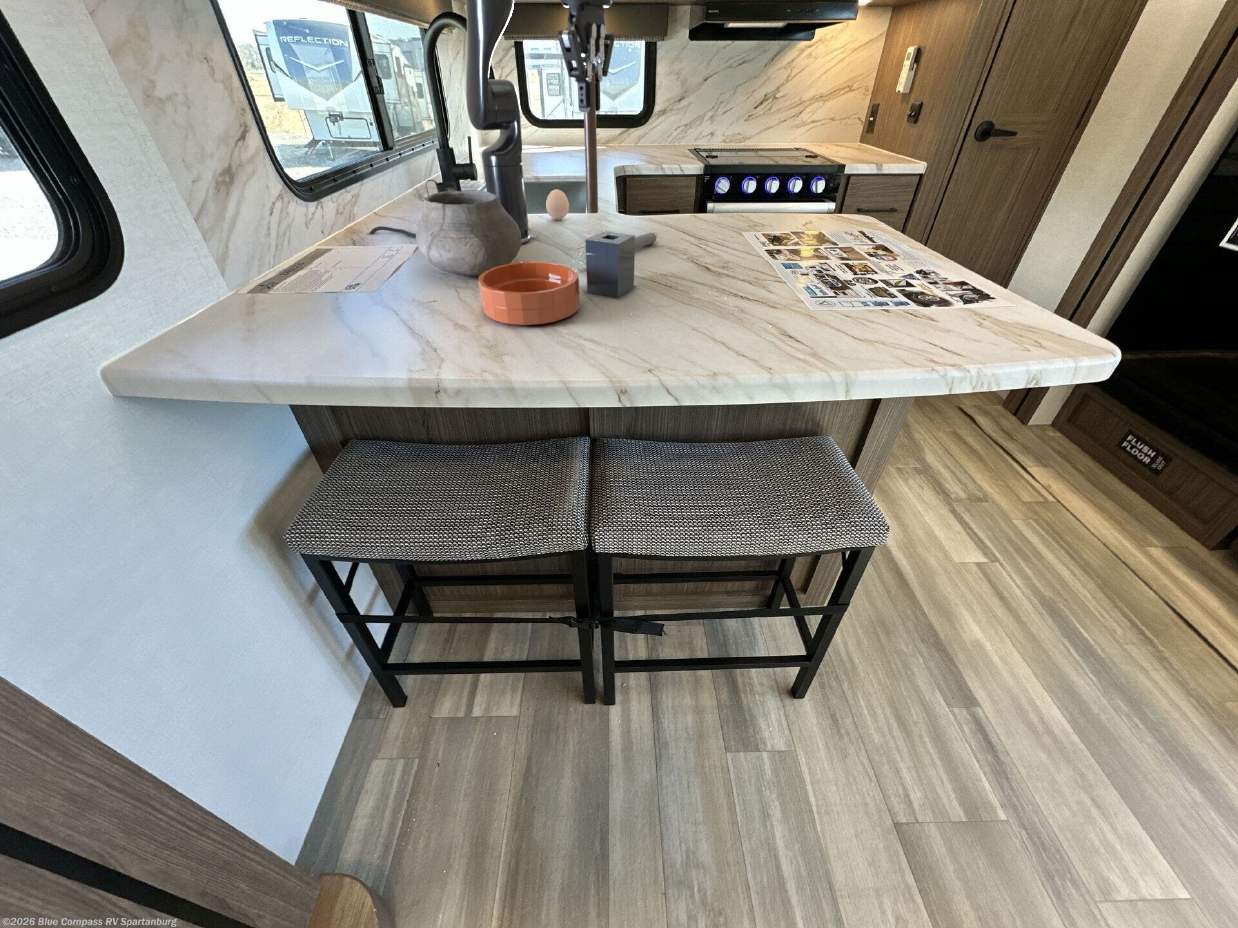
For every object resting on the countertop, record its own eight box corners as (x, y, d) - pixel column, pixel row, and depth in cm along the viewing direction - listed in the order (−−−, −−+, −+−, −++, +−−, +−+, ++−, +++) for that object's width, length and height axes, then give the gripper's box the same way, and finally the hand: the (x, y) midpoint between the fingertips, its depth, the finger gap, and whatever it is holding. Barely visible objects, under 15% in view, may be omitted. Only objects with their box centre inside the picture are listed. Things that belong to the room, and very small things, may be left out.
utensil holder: (587, 292, 101) (585, 239, 95) (604, 281, 106) (603, 231, 100) (618, 298, 98) (618, 244, 92) (633, 287, 103) (635, 235, 97)
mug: (464, 225, 143) (456, 177, 136) (464, 230, 139) (455, 181, 132) (435, 226, 142) (425, 178, 134) (434, 231, 138) (424, 182, 130)
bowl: (463, 316, 91) (457, 283, 87) (522, 287, 103) (518, 256, 100) (544, 335, 85) (541, 300, 81) (596, 301, 97) (595, 270, 93)
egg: (574, 219, 149) (572, 189, 144) (558, 223, 145) (556, 192, 140) (558, 216, 152) (556, 186, 147) (542, 220, 148) (539, 189, 143)
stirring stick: (585, 212, 91) (580, 72, 78) (590, 210, 92) (586, 72, 80) (594, 214, 90) (591, 72, 78) (600, 211, 91) (597, 72, 79)
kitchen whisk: (666, 243, 129) (668, 216, 125) (589, 280, 107) (588, 249, 103) (646, 239, 132) (647, 213, 128) (566, 275, 110) (564, 244, 106)
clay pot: (537, 260, 117) (530, 188, 108) (502, 291, 101) (491, 209, 92) (451, 254, 121) (437, 184, 112) (404, 283, 105) (383, 204, 95)
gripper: (586, -30, 77) (590, 108, 88) (535, -44, 68) (546, 113, 78) (630, -33, 75) (629, 109, 85) (583, -48, 65) (588, 115, 76)
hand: (589, 111), depth 82 cm, fingers closed on stirring stick, 2 cm apart
